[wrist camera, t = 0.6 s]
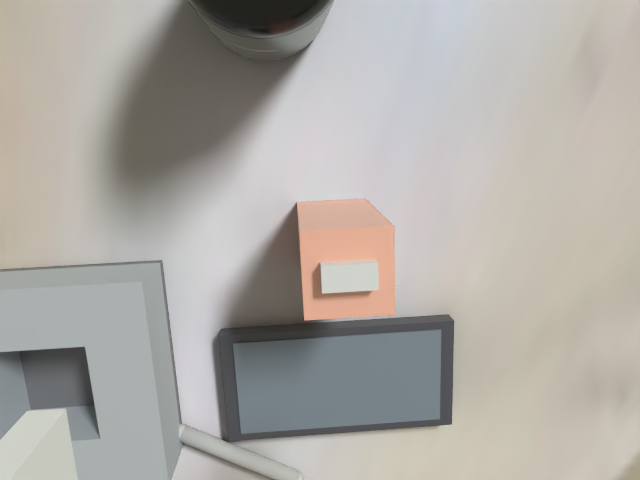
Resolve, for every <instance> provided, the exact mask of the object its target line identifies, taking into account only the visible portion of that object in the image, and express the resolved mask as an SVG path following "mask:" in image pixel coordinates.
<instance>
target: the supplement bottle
mask: <svg viewBox="0 0 640 480" xmlns="http://www.w3.org/2000/svg"><path fill="white" fill-rule="evenodd" d="M188 1H189V3H190V4H191V5H192V7H193V8H194V9H195V11H196V12H197V13H198V15H199V16H200V17H201V18H202V20H203V21H204V22H205V24H206V25H207V26H208V28H209V29H210V30H211V32H212V33H213V34H214V35H215V36H216V37H217V38H218V40H219V41H220V42H222V43H223V44H224V45H225V46H226V47H228V48H229V49H230V50H232V51H233V52H235V53H237V54H239V55H241V56H244V57H246V58H249V59H253V60H259V61H275V60H280V59H284V58H287V57H290V56H292V55H294V54H296V53H298V52H299V51H301V50H302V49H304V48H305V47H306V46H307V45H308V44H309V43H310V42H312V40H313V39H314V38H315V37H316V35H317V34H318V33H319V31H320V29H321V28H322V26H323V24H324V22H325V20H326V18H327V16H328V13H329V11H330V9H331V6H332V4H333V2H334V0H188Z"/></svg>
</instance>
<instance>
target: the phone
mask: <svg viewBox="0 0 640 480" xmlns="http://www.w3.org/2000/svg"><path fill="white" fill-rule="evenodd" d="M219 345H220V355H221V365H222V376H223V386H224V396H225V406H226V417H227V427H228V437H229V441H236V440H249V439H263V438H276V437H290V436H303V435H316V434H330V433H343V432H356V431H370V430H383V429H396V428H410V427H423V426H437V425H450V424H452V393H453V345H454V320H453V319H452V318H451V317H450V315H434V316H419V317H403V318H387V319H372V320H356V321H340V322H325V323H309V324H293V325H278V326H262V327H246V328H231V329H221V331H220V333H219Z"/></svg>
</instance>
